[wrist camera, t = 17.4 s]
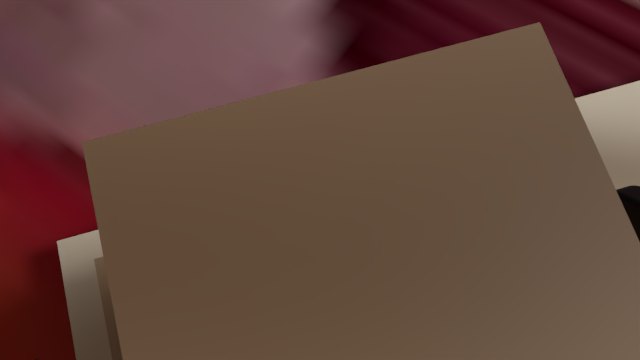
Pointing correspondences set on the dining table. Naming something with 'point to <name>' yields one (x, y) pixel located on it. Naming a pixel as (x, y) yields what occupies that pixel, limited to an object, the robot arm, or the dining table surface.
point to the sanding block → (372, 220)
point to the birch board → (597, 109)
